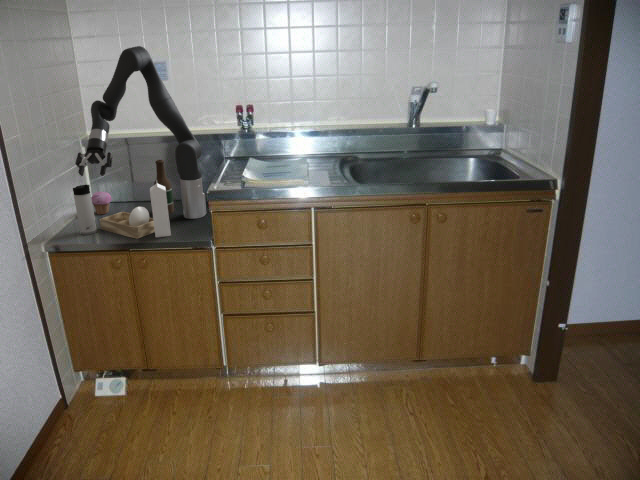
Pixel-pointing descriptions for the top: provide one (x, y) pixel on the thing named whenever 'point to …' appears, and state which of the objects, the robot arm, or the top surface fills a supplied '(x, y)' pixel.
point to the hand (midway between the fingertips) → (91, 175)
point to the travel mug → (84, 209)
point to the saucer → (138, 216)
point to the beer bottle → (164, 184)
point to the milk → (160, 210)
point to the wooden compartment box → (126, 225)
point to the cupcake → (101, 202)
